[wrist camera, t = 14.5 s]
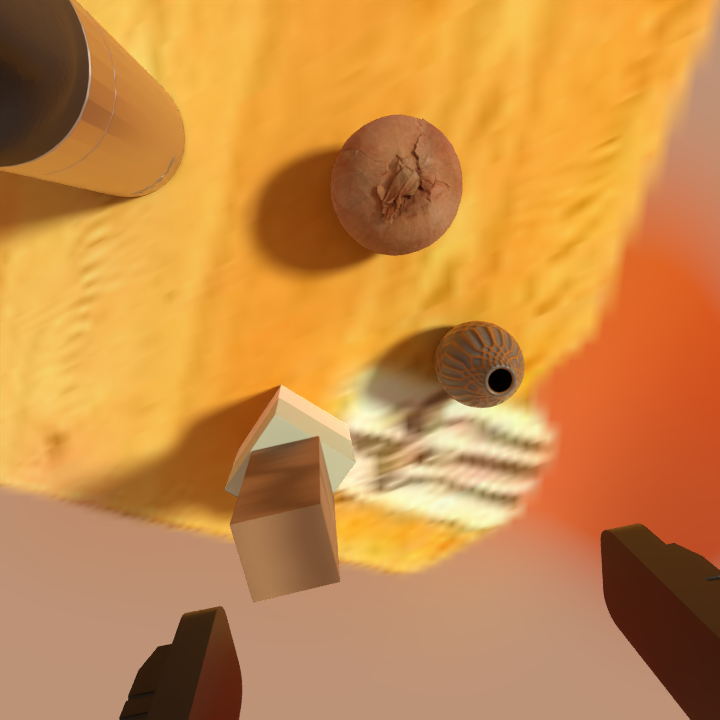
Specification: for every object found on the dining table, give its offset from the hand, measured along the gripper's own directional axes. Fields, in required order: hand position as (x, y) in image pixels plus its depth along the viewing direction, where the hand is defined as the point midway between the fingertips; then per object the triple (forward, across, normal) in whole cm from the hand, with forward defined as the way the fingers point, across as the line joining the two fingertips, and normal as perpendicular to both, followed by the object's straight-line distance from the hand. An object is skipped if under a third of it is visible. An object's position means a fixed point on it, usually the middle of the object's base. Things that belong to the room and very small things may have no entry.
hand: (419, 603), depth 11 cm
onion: (+34, -6, -10) cm, 36 cm away
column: (+26, +5, +9) cm, 28 cm away
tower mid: (+30, +6, +9) cm, 32 cm away
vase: (+34, -11, +4) cm, 36 cm away
